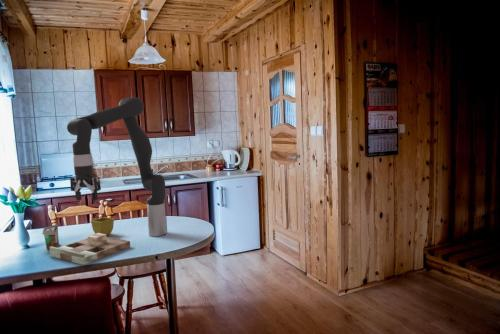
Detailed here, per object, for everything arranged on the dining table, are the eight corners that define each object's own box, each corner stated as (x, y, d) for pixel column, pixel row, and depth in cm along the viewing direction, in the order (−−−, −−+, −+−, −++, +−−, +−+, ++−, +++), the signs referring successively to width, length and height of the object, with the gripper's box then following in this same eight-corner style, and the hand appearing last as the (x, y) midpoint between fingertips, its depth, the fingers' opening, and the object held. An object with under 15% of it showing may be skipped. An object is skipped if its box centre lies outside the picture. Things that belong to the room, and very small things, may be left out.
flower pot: (105, 232, 210) (104, 216, 209) (115, 234, 206) (114, 218, 205) (91, 236, 203) (90, 220, 202) (102, 238, 198) (100, 222, 197)
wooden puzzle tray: (98, 240, 195) (97, 232, 194) (130, 247, 182) (129, 238, 182) (50, 256, 172) (49, 247, 172) (83, 264, 160) (82, 254, 159)
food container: (46, 244, 190) (44, 226, 189) (59, 243, 192) (57, 224, 191) (41, 252, 179) (39, 232, 178) (56, 250, 181) (54, 230, 180)
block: (98, 240, 184) (98, 232, 184) (106, 242, 181) (106, 234, 181) (88, 244, 179) (87, 236, 179) (96, 245, 176) (95, 237, 176)
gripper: (102, 163, 165) (105, 198, 167) (76, 163, 169) (79, 198, 171) (90, 165, 157) (94, 202, 160) (63, 165, 162) (67, 201, 164)
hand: (86, 200), depth 165 cm, fingers open, 8 cm apart
